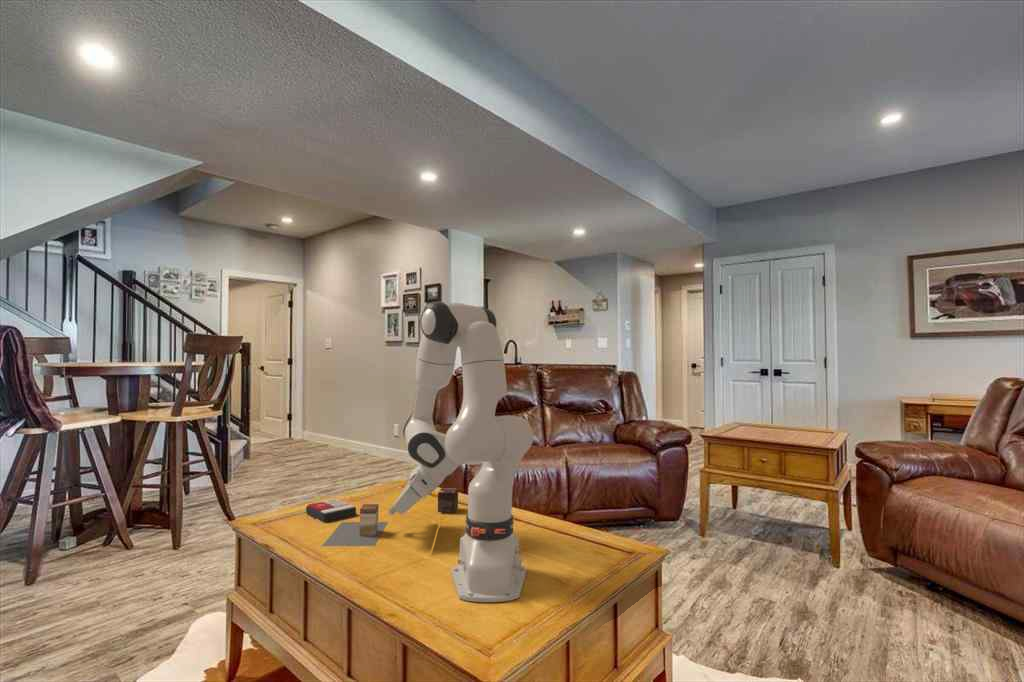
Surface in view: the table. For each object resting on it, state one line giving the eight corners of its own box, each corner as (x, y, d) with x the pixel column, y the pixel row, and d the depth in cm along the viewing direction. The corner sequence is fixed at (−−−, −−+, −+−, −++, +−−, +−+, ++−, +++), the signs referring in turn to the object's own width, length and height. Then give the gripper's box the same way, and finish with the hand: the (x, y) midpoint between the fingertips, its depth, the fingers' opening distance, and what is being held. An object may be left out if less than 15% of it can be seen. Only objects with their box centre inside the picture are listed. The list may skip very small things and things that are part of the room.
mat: (374, 547, 143) (374, 545, 143) (321, 548, 142) (321, 545, 142) (388, 523, 163) (388, 521, 163) (341, 524, 162) (341, 522, 162)
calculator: (336, 497, 180) (356, 505, 169) (336, 510, 180) (356, 518, 169) (305, 503, 172) (324, 512, 161) (305, 516, 172) (324, 525, 161)
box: (458, 508, 180) (458, 488, 180) (454, 514, 174) (455, 492, 174) (441, 508, 180) (441, 487, 180) (437, 513, 174) (437, 491, 174)
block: (374, 535, 151) (375, 508, 151) (359, 535, 150) (360, 508, 151) (378, 530, 155) (378, 504, 155) (363, 530, 155) (363, 504, 155)
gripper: (421, 464, 164) (389, 495, 164) (411, 480, 144) (376, 515, 143) (434, 478, 164) (403, 509, 164) (427, 496, 144) (391, 531, 143)
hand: (390, 512), depth 153 cm, fingers closed
